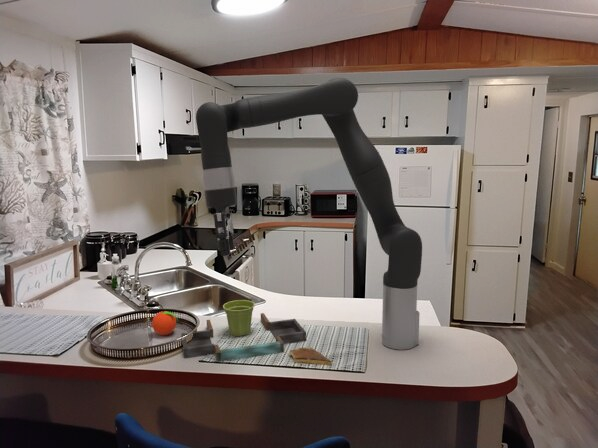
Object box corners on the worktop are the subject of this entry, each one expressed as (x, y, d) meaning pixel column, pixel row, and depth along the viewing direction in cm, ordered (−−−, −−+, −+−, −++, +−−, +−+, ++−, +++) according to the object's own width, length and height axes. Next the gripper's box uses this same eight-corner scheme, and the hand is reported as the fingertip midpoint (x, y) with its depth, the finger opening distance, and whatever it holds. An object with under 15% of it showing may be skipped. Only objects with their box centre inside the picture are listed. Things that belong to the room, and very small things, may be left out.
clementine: (184, 330, 140) (182, 308, 139) (173, 339, 133) (172, 316, 132) (159, 328, 141) (158, 306, 140) (148, 338, 135) (146, 314, 133)
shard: (332, 367, 117) (332, 360, 116) (307, 375, 113) (307, 368, 112) (309, 351, 126) (309, 344, 126) (285, 358, 122) (285, 351, 122)
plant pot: (218, 336, 135) (216, 308, 134) (234, 324, 144) (233, 298, 142) (246, 341, 132) (245, 312, 130) (260, 329, 140) (260, 301, 139)
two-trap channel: (287, 317, 149) (287, 310, 149) (311, 347, 127) (311, 339, 126) (180, 331, 139) (179, 323, 139) (185, 366, 117) (184, 357, 116)
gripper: (231, 186, 105) (240, 255, 107) (238, 185, 119) (245, 246, 121) (198, 189, 105) (207, 259, 107) (209, 188, 119) (217, 250, 121)
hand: (227, 252), depth 114 cm, fingers open, 8 cm apart
